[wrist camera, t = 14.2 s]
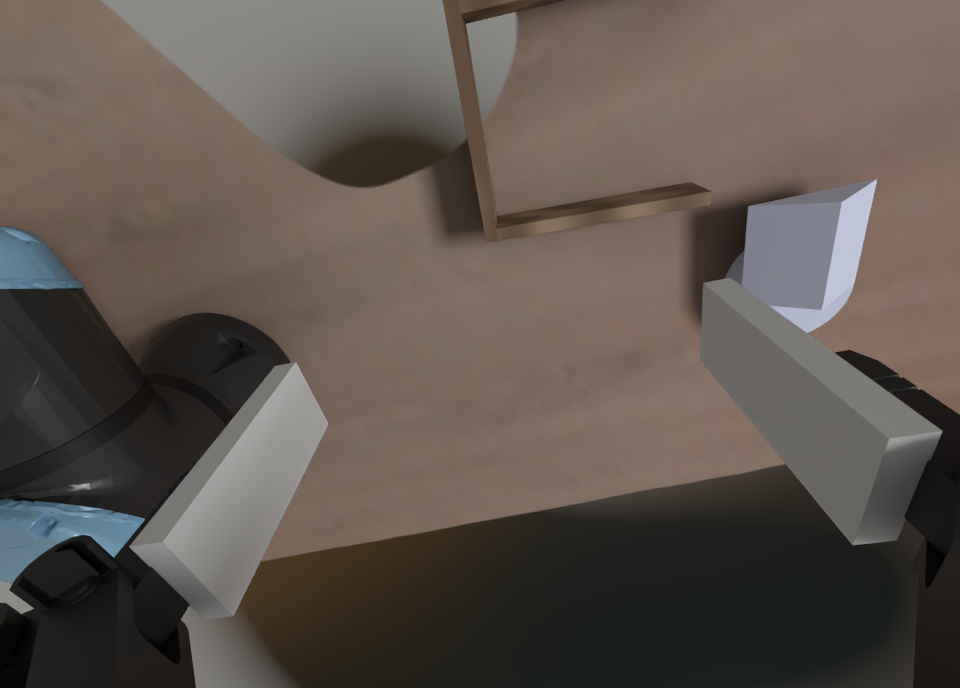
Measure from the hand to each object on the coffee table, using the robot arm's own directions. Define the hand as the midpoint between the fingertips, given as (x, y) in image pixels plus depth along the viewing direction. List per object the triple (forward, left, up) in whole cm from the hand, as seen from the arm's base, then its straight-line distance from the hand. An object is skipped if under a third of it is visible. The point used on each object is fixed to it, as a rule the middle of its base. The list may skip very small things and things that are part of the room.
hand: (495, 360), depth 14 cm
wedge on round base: (+24, -10, -27) cm, 37 cm away
